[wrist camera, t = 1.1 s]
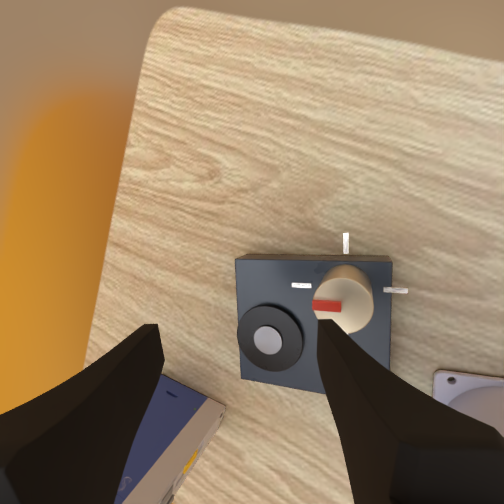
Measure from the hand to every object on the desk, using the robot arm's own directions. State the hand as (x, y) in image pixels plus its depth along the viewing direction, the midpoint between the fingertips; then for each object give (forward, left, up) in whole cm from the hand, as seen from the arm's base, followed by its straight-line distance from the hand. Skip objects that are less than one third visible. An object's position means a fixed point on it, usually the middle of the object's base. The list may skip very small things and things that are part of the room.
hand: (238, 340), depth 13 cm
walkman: (+11, +13, -11) cm, 20 cm away
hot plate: (-2, +2, -11) cm, 12 cm away
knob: (-4, 0, -9) cm, 10 cm away
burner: (+1, +4, -9) cm, 10 cm away
